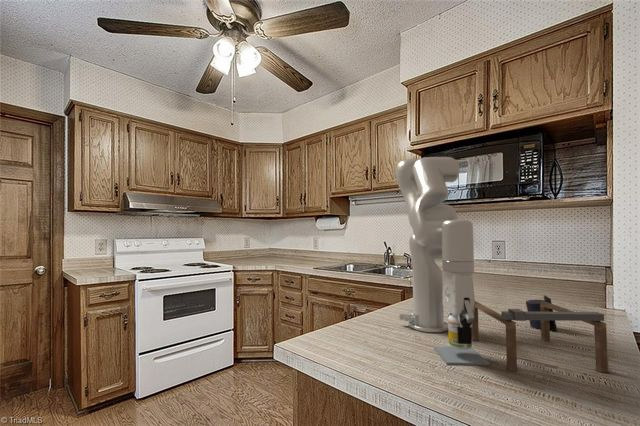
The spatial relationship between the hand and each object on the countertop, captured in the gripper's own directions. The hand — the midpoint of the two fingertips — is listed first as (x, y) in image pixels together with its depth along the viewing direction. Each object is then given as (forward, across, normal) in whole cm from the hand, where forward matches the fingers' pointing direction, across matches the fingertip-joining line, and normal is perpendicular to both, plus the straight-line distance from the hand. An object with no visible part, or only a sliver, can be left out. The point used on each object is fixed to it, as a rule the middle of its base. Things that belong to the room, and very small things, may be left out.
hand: (459, 338), depth 82 cm
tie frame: (+5, -3, +19) cm, 20 cm away
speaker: (+5, -24, +35) cm, 43 cm away
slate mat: (+5, 0, 0) cm, 5 cm away
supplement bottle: (+2, 0, 0) cm, 2 cm away
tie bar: (-7, +6, +19) cm, 21 cm away
